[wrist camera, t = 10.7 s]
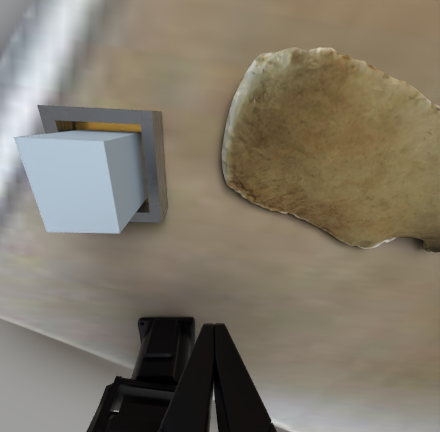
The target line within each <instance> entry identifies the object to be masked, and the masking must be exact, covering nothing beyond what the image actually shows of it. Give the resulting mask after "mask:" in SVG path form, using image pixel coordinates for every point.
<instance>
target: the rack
mask: <svg viewBox="0 0 440 432" xmlns="http://www.w3.org/2000/svg"><path fill="white" fill-rule="evenodd" d="M37 106H38V109H39V112H40V116H41V119H42V123H43V126H44V130H45V133H46V134H49V133H58V132H66V131H75V130H104V131H125V132H141V137H142V147H143V157H144V166H145V176H146V186H147V195H148V197H147V198H146V200H145V201H144V202H143V204H142V205H141V206H140V208H139V209H138V210H137V212H136V213H135V214H134V215H133V217H132V218H131V219H130V221H129V222H159V223H161V222H162V220H163V218H164V215H165V213H166V211H167V209H168V205H167V190H166V174H165V159H164V144H163V129H162V114H161V112H159V111H143V110H123V109H103V108H83V107H64V106H44V105H37Z"/></svg>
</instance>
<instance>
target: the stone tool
mask: <svg viewBox="0 0 440 432" xmlns="http://www.w3.org/2000/svg"><path fill="white" fill-rule="evenodd" d="M222 168H223V173H224V177H225V180H226V184H227V185H228V186H229V187H230V188H232V189H234V190H235V191H236V192H239V193H240V194H241V195H242V197H244V198H246V199H248V200H249V201H250V202H251V203H254V204H257V205H259V206H261V207H263V208H266V209H269V210H270V211H278V212H281V214H286V213H290V214H292V215H295V217H297V218H300V219H304V220H306V221H307V222H310V223H312V224H313V225H315V226H318V227H319V228H322V229H323V230H325V231H327V232H328V233H330V234H331V235H333V236H335V238H337V239H339V240H340V241H342V242H344V243H347V244H348V245H350V246H358V247H361V248H363V249H370V248H374V247H377V246H379V245H380V244H382V243H383V242H385V243H388V242H389V241H392V240H393V239H395V238H397V237H415V238H418V239H421V240H423V241H424V243H423V248H424V249H425V250H426V251H427V252H430V251H432V252H440V106H438V105H436V104H433V103H431V101H430V100H428V99H426V98H425V96H424V95H423V94H421V93H419V92H418V91H417V90H416V89H415V88H414V87H413V86H411V85H410V84H408V83H407V82H404V81H401V80H398V79H395V78H392V77H391V76H390V75H388V74H386V73H385V72H383V71H381V70H379V69H378V68H375V67H373V66H370V65H369V64H367V63H366V62H365V61H359V60H356V59H353V58H351V57H349V56H347V55H339V53H338V52H337V51H335V50H334V49H332V48H315V49H310V50H307V51H305V50H302V49H299V48H297V47H293V48H289V49H284V50H282V51H279V52H277V53H262V54H260V55H259V56H258V57H257V58H256V59H255V60H254V61H253V63H252V64H251V66H250V67H249V69H248V70H247V72H246V73H245V75H244V78H243V80H242V82H241V83H240V85H239V87H238V89H237V91H236V93H235V95H234V97H233V100H232V104H231V107H230V111H229V115H228V119H227V122H226V127H225V133H224V140H223V147H222Z"/></svg>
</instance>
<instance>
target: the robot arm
mask: <svg viewBox="0 0 440 432" xmlns="http://www.w3.org/2000/svg"><path fill="white" fill-rule="evenodd" d="M138 327H139V333H140V339H141V348H140V351H139V354H138V358H137V361H136V364H135V368H134V371H133V374H132V378H131V379H126V378H122V377H121V376H116V378H115V381H114V383H112V384H110V385H108V386H106V388H105V391H104V394H103V396H102V399H101V402H100V404H99V406H98V409H97V411H96V413H95V415H94V417H93V419H92V421H91V424H90V426H89V428H88V430H87V432H209V430H210V419H211V409H212V398H213V384H214V394H215V404H216V413H217V422H218V431H219V432H277V431H276V429H275V427H274V425H273V423H271V419H270V417H269V415H268V413H267V410H266V408H265V406H264V404H263V402H262V400H261V398H260V396H259V394H258V392H257V390H256V388H255V386H254V384H253V382H252V379H251V377H250V375H249V373H248V371H247V369H246V367H245V365H244V363H243V361H242V359H241V357H240V355H239V353H238V350H237V348H236V346H235V344H234V342H233V340H232V338H231V336H230V334H229V332H228V330H227V328H226V326H225V324H223V323H216V324H212V323H207V324H204V325H203V326H202V329H201V331H200V333H199V336H198V338H197V340H196V343H195V320H194V318H140V319H139V321H138ZM114 410H119V412H113V411H114Z"/></svg>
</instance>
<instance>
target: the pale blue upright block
mask: <svg viewBox="0 0 440 432" xmlns="http://www.w3.org/2000/svg"><path fill="white" fill-rule="evenodd" d="M14 139H15V142H16V145H17V147H18V150H19V153H20V156H21V159H22V162H23V165H24V168H25V171H26V173H27V176H28V179H29V182H30V185H31V188H32V191H33V194H34V196H35V199H36V202H37V205H38V208H39V211H40V214H41V217H42V220H43V222H44V225H45V228H46V231H47V232H75V233H121V231H122V230H123V229H124V227H125V226H126V225H127V223H128V222H129V221H130V219H131V218H132V217H133V215H134V214H135V213H136V212H137V210H138V209H139V208H140V206H141V205H142V204H143V202H144V201H145V200H146V198H147V197H148V195H147V186H146V176H145V166H144V157H143V147H142V137H141V132H125V131H104V130H75V131H66V132H58V133H49V134H40V135H31V136H23V137H14Z"/></svg>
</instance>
